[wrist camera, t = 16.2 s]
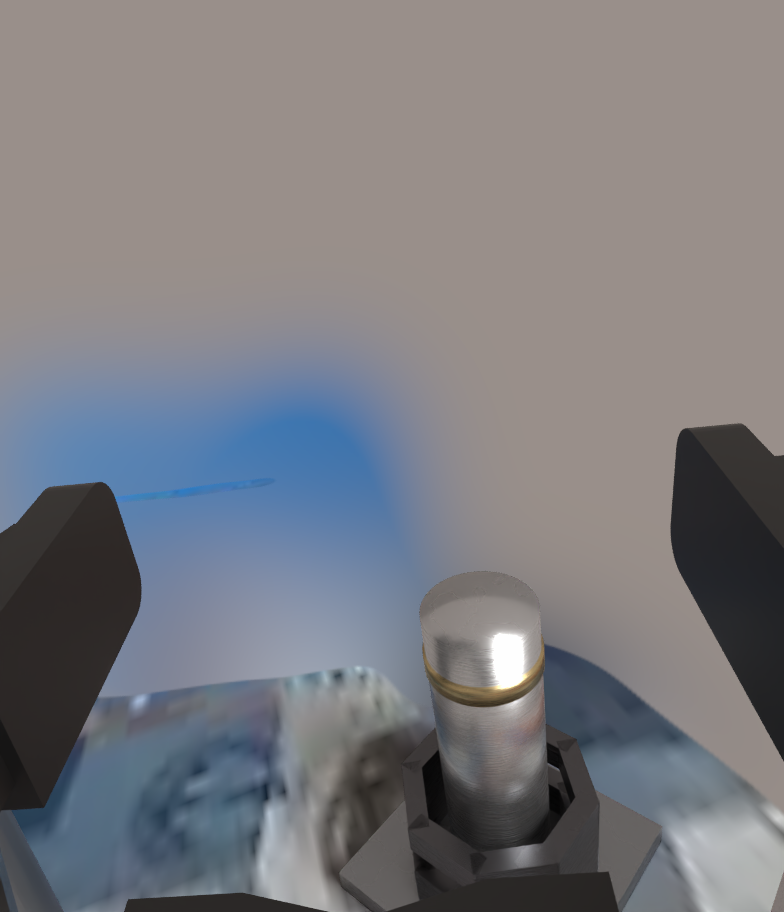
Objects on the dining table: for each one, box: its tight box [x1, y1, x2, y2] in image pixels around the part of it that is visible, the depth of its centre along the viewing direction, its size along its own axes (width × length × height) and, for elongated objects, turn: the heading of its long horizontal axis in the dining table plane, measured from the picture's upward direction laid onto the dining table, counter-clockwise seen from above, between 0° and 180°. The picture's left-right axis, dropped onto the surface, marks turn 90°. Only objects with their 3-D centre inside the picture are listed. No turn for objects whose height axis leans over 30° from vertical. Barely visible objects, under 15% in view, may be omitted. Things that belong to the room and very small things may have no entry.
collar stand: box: [339, 724, 662, 912], centre depth 38 cm, size 12×12×6 cm
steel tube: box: [419, 571, 551, 852], centre depth 35 cm, size 5×5×16 cm
